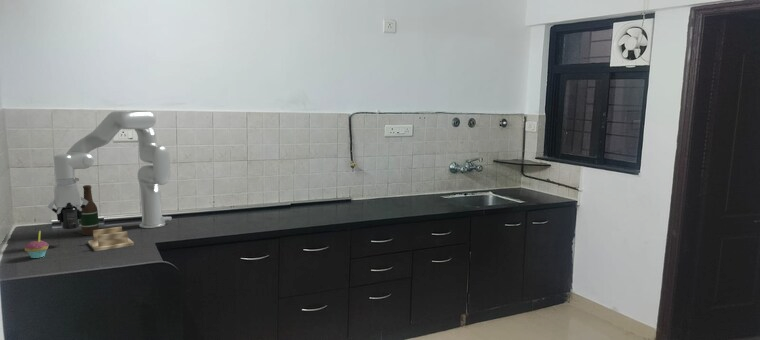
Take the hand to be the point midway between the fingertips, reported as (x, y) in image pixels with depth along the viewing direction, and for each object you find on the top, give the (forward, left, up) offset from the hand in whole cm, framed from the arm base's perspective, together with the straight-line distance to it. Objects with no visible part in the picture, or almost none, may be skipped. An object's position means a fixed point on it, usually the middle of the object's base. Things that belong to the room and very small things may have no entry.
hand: (70, 220), depth 250 cm
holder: (-14, +10, -11) cm, 21 cm away
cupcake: (+15, +14, -11) cm, 23 cm away
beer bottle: (-10, -17, -11) cm, 23 cm away
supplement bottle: (0, 0, -4) cm, 4 cm away
